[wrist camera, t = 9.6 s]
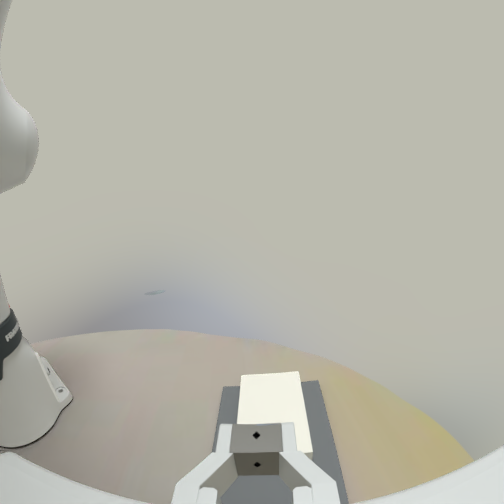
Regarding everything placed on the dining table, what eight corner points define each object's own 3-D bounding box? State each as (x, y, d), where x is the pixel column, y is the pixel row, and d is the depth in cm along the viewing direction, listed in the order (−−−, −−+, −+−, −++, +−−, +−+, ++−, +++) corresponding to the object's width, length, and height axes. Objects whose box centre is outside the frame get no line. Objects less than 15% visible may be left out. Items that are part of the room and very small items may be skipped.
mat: (348, 510, 15) (349, 507, 15) (202, 518, 16) (201, 516, 16) (318, 383, 34) (318, 380, 34) (223, 389, 34) (223, 386, 34)
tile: (312, 451, 21) (298, 371, 33) (233, 456, 21) (241, 375, 34) (311, 462, 21) (298, 382, 34) (236, 466, 21) (242, 385, 34)
